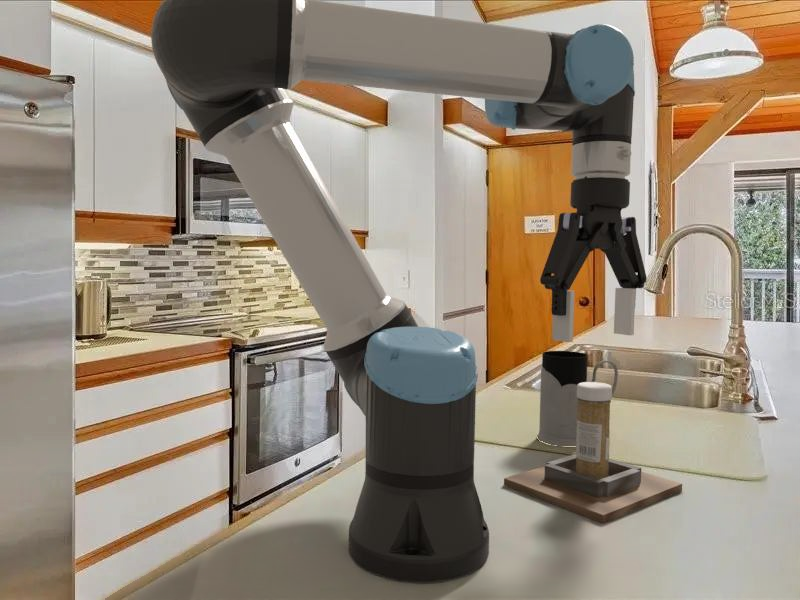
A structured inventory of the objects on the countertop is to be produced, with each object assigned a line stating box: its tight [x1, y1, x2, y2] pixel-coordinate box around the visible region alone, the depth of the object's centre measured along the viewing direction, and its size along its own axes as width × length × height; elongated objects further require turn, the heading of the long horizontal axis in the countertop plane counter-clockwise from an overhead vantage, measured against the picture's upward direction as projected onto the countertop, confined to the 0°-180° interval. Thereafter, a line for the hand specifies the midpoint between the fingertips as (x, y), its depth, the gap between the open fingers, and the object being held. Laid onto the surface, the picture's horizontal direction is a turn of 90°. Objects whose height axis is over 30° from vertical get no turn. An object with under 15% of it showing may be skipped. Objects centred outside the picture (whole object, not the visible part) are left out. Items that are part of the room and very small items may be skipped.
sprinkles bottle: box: [575, 381, 613, 480], centre depth 90 cm, size 5×5×13 cm
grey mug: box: [536, 350, 619, 446], centre depth 113 cm, size 9×14×15 cm, turn 100°
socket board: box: [503, 453, 683, 524], centre depth 90 cm, size 18×16×3 cm
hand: (594, 337), depth 89 cm, fingers open, 13 cm apart
